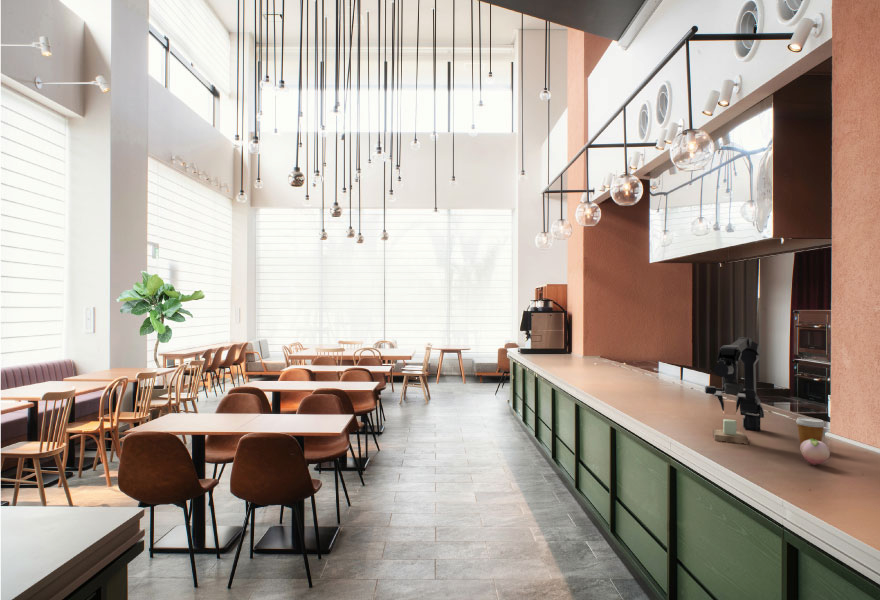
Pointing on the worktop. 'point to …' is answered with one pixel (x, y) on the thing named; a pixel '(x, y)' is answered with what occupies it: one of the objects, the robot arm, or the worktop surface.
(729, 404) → the terracotta block
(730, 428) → the green block
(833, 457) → the worktop surface
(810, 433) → the disposable coffee cup
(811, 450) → the decorative fruit
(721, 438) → the walnut base
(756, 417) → the robot arm
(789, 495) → the worktop surface
